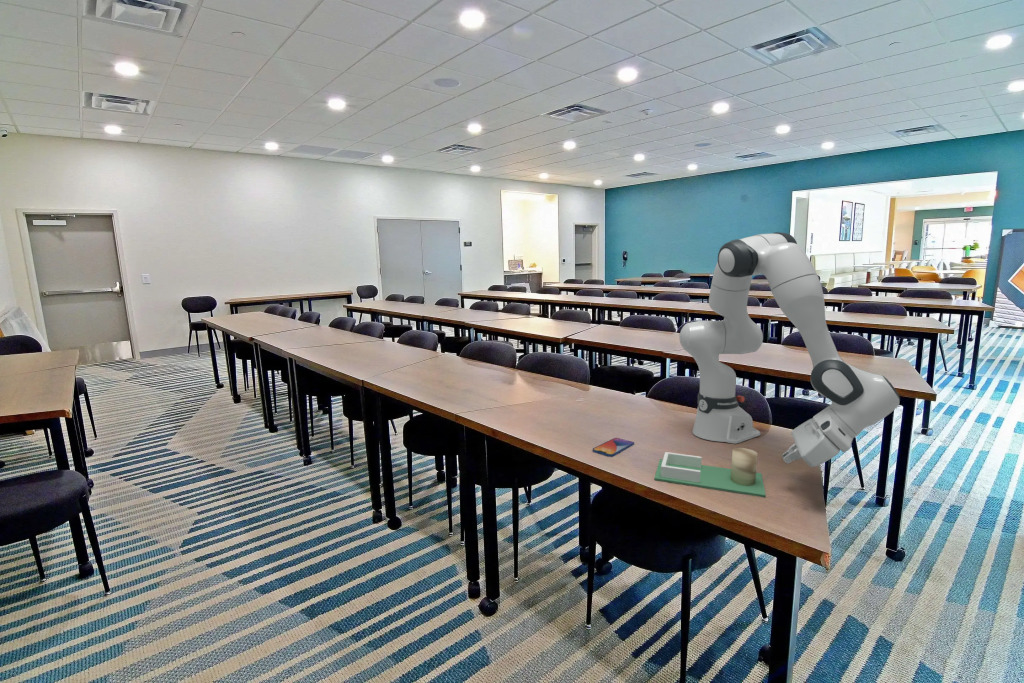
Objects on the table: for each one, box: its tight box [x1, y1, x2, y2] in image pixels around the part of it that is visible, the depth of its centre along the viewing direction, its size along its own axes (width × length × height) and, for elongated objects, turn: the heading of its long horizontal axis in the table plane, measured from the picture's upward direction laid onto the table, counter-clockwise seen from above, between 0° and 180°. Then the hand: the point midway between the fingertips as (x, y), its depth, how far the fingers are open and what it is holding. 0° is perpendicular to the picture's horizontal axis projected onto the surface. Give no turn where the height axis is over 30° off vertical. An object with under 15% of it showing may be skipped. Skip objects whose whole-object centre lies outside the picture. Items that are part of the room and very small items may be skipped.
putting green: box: [653, 451, 767, 498], centre depth 135 cm, size 27×14×4 cm, turn 67°
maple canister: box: [730, 447, 758, 486], centre depth 131 cm, size 6×6×8 cm
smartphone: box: [592, 437, 635, 458], centre depth 158 cm, size 7×15×1 cm, turn 138°
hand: (784, 459), depth 127 cm, fingers closed
